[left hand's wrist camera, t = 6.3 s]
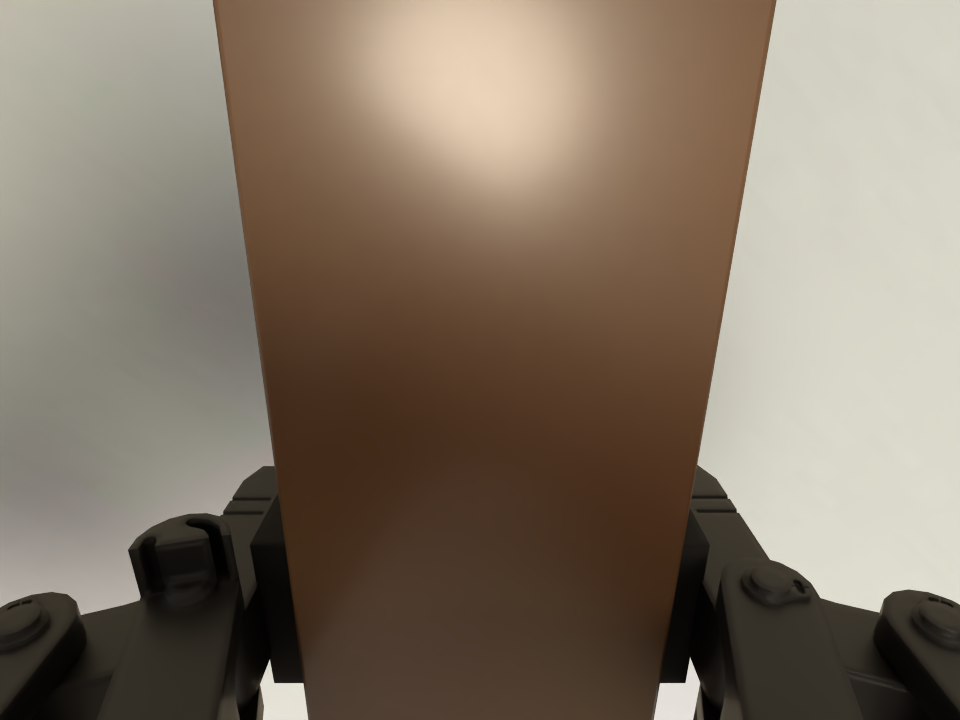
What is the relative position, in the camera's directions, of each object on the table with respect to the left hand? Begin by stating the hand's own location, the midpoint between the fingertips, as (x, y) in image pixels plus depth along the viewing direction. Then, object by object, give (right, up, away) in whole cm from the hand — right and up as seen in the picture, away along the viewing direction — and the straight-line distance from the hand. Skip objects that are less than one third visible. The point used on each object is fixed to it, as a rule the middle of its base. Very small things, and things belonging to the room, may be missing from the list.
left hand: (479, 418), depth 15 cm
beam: (0, +24, -9) cm, 25 cm away
